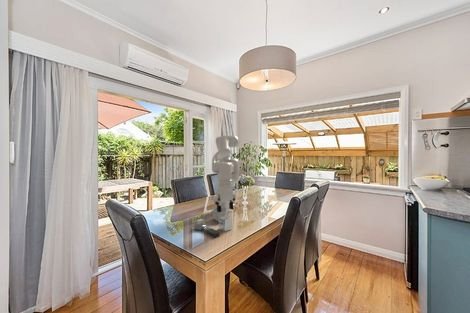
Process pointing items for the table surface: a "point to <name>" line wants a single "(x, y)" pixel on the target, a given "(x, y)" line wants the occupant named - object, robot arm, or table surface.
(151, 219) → the table surface
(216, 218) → the teacup
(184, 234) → the table surface
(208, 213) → the table surface
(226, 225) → the wood-topped grey cube
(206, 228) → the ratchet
